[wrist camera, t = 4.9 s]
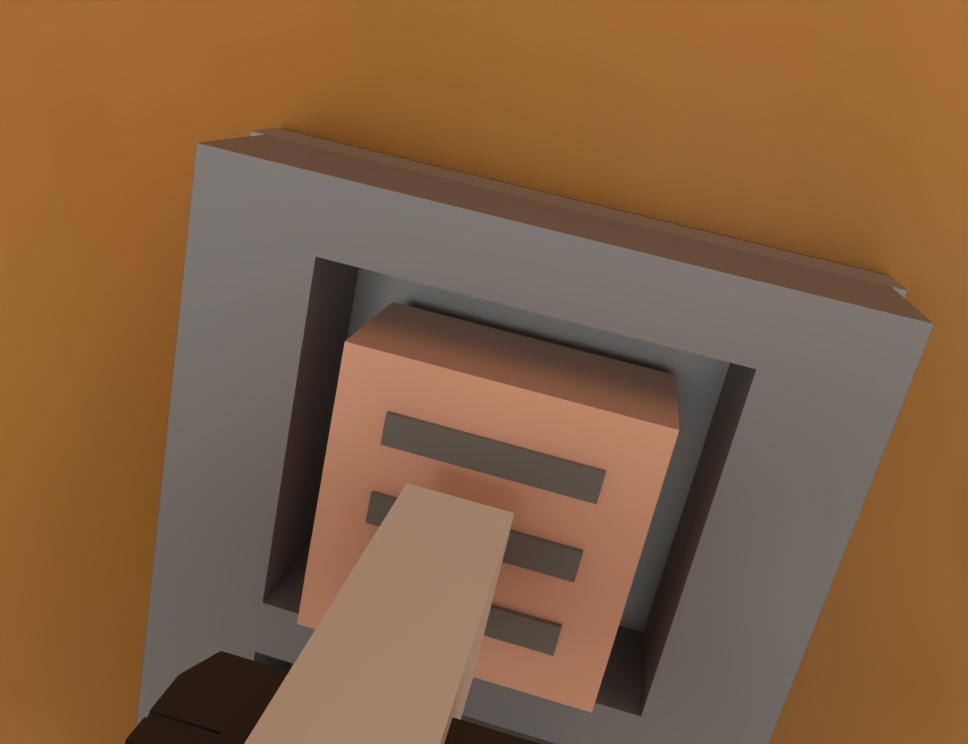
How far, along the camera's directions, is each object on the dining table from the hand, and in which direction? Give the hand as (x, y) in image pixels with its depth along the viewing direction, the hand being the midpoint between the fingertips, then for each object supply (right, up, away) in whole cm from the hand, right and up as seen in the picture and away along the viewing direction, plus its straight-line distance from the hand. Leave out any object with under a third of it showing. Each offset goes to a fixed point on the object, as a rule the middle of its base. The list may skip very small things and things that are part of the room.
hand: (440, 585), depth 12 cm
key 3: (+1, +1, +3) cm, 4 cm away
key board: (0, -4, +7) cm, 8 cm away
